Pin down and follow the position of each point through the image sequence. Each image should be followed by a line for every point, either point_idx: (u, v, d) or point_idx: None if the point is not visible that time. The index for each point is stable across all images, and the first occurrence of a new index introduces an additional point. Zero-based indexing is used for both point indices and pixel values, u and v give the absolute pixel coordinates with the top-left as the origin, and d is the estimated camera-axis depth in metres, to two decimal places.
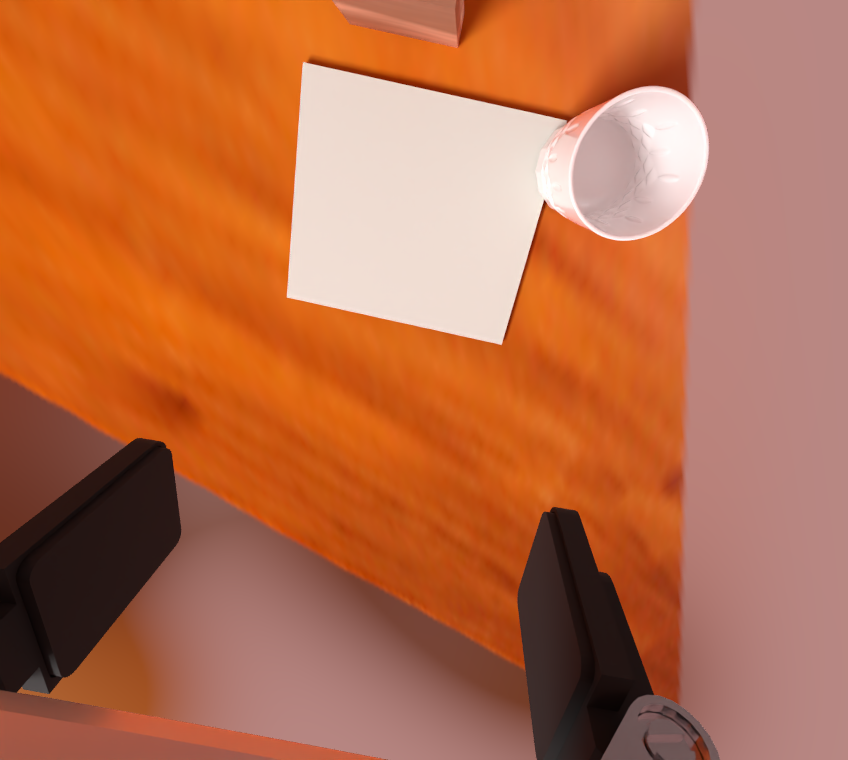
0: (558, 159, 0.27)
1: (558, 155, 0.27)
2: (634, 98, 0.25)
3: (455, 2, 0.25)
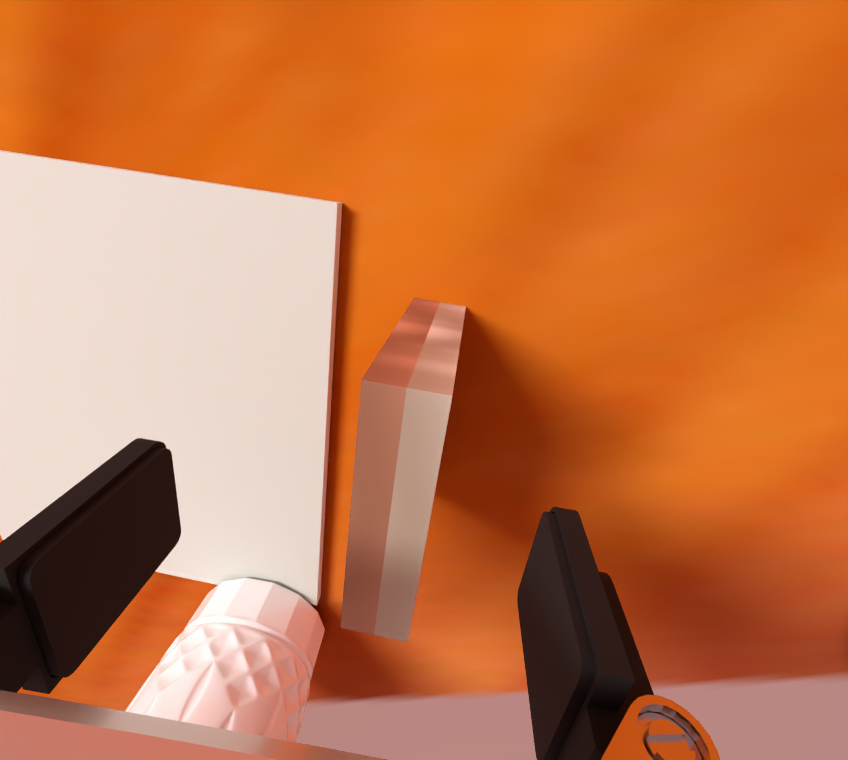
0: None
1: None
2: None
3: (350, 627, 0.13)
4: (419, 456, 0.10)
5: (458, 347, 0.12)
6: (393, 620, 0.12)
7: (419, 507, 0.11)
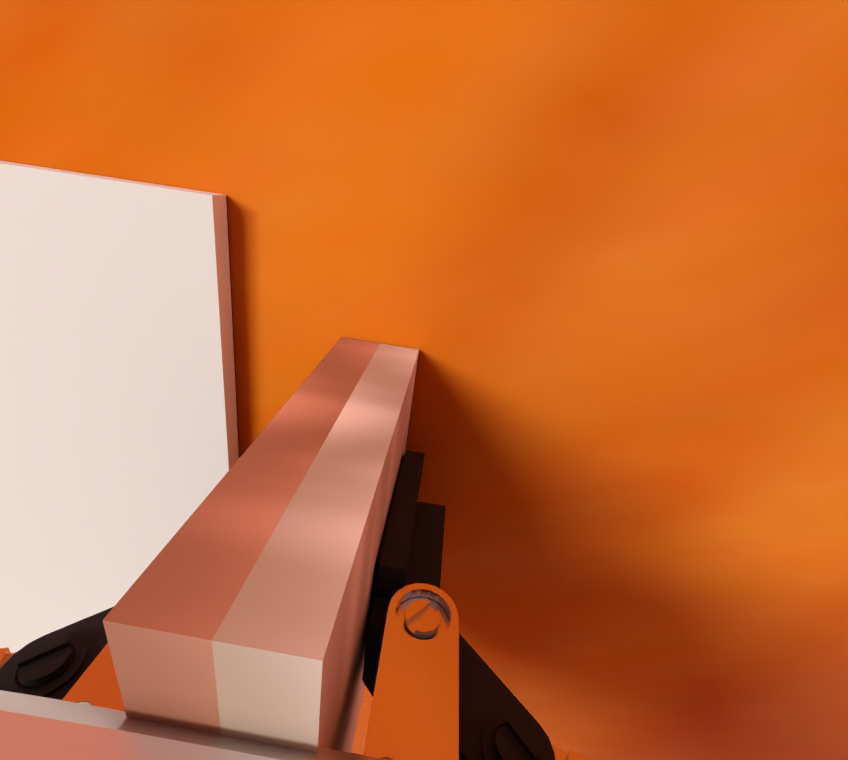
0: None
1: None
2: None
3: None
4: None
5: (383, 456, 0.07)
6: None
7: None
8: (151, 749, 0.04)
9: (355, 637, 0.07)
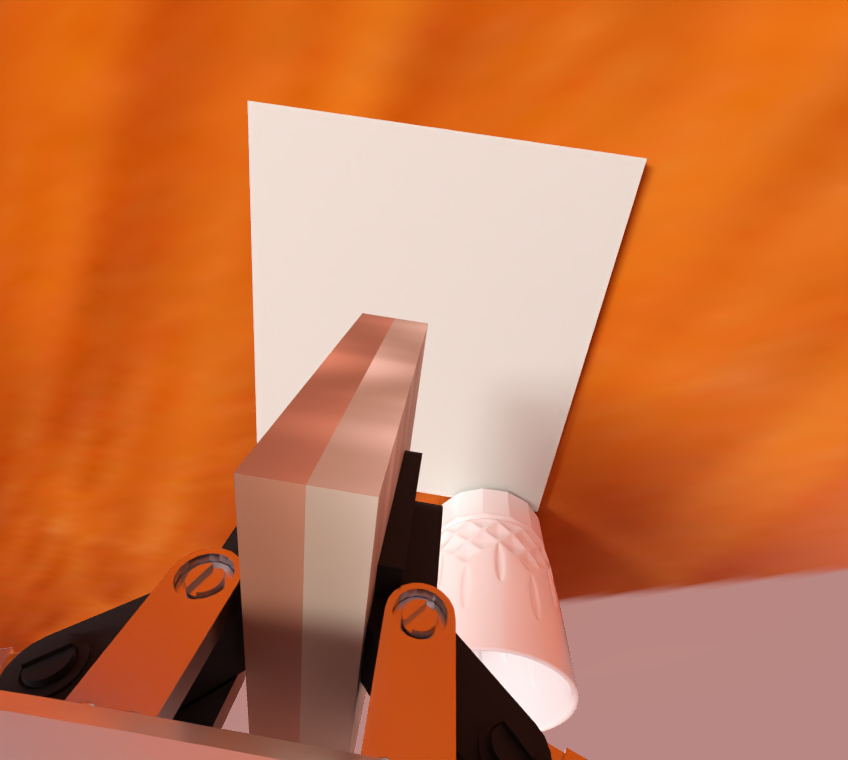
0: (499, 589, 0.21)
1: (503, 585, 0.21)
2: None
3: None
4: (335, 579, 0.07)
5: (406, 393, 0.09)
6: None
7: (342, 644, 0.07)
8: (151, 748, 0.04)
9: (385, 530, 0.09)
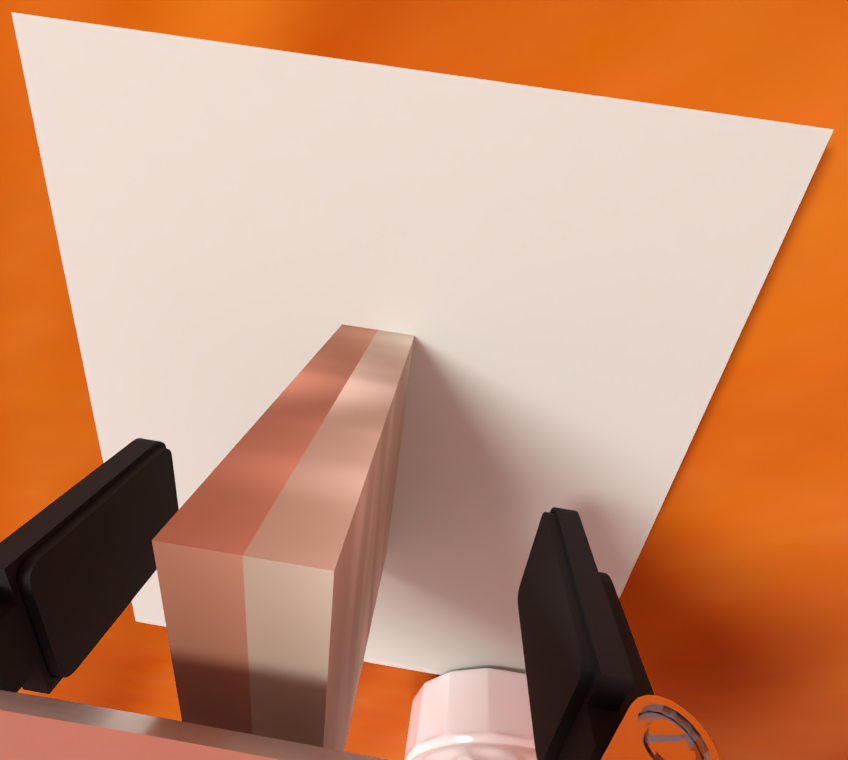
0: None
1: None
2: None
3: None
4: (287, 662, 0.05)
5: (382, 422, 0.08)
6: None
7: (300, 732, 0.06)
8: (151, 749, 0.04)
9: (358, 582, 0.07)
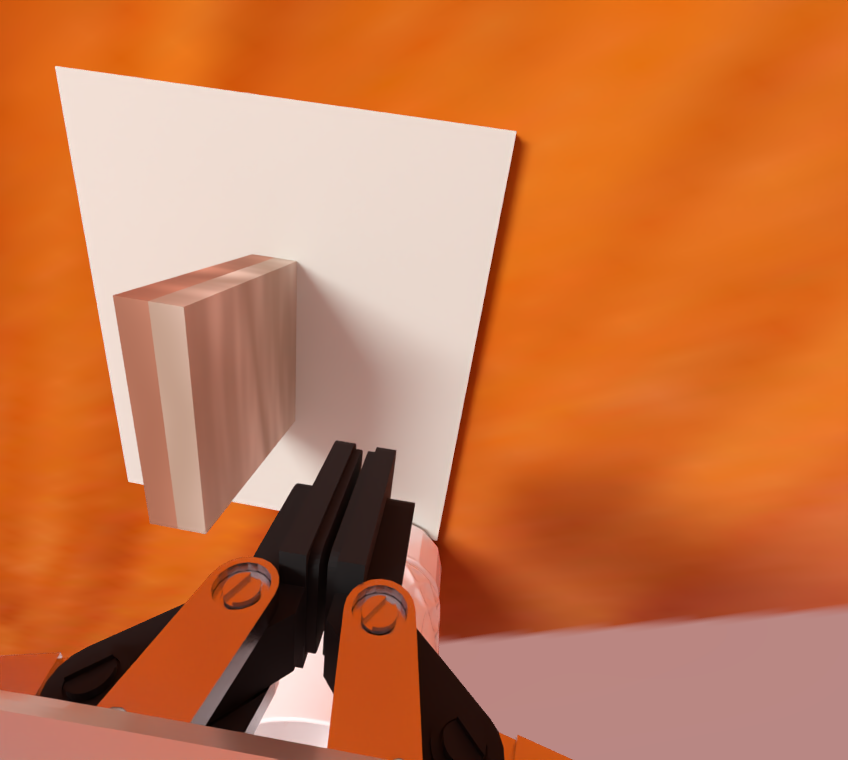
0: None
1: None
2: None
3: (159, 522, 0.15)
4: (172, 361, 0.12)
5: (241, 283, 0.15)
6: (189, 514, 0.15)
7: (183, 407, 0.13)
8: (151, 749, 0.04)
9: (226, 363, 0.14)
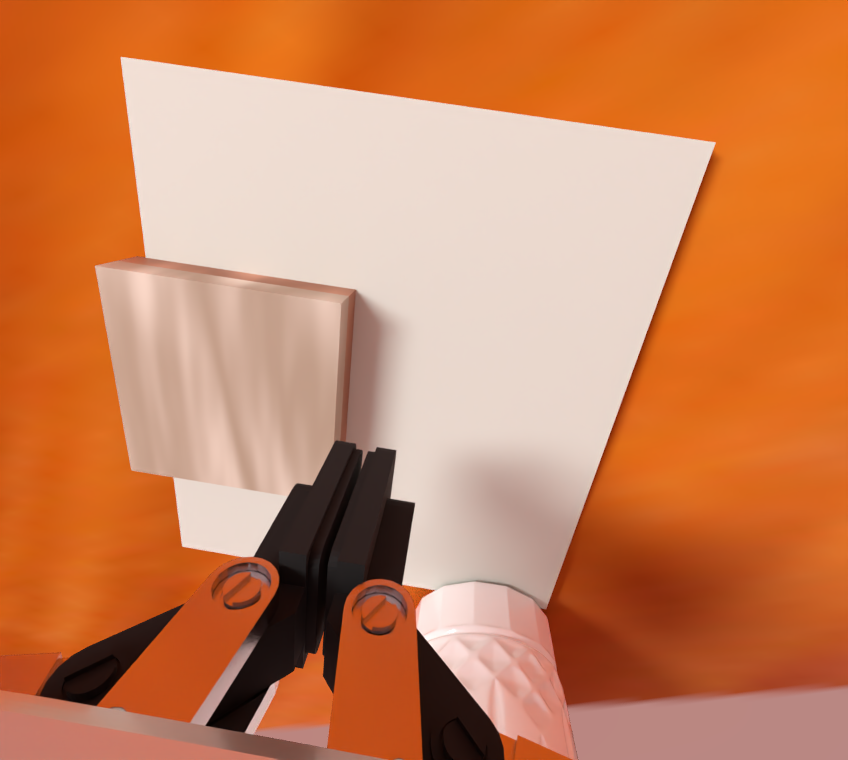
0: None
1: None
2: None
3: None
4: None
5: (192, 280, 0.14)
6: None
7: (117, 353, 0.16)
8: (151, 748, 0.04)
9: (162, 345, 0.15)
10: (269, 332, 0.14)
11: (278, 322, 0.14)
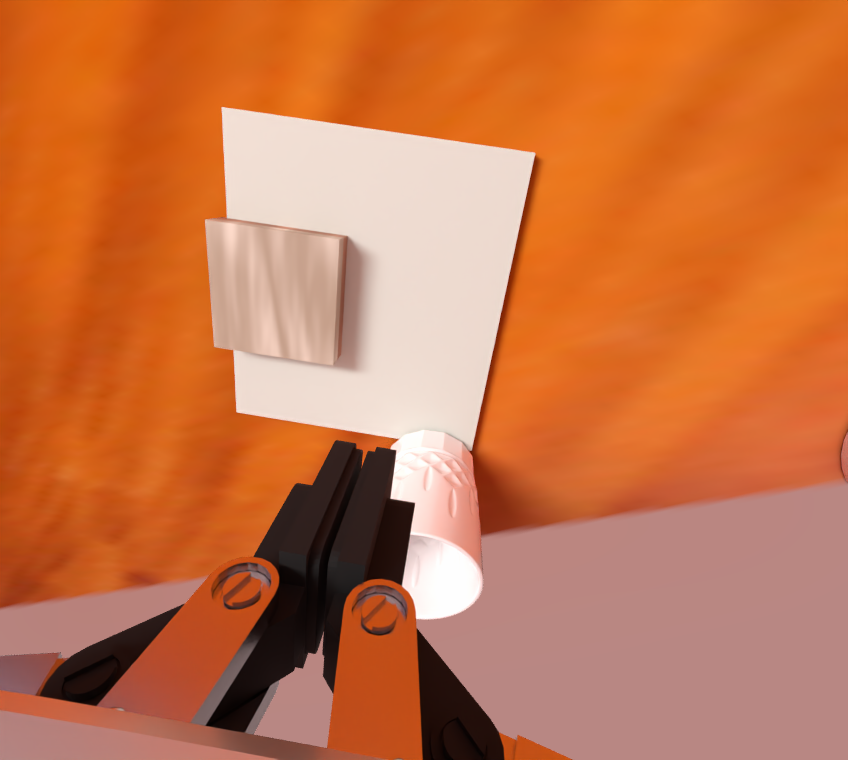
0: (423, 496, 0.26)
1: (427, 493, 0.26)
2: None
3: None
4: None
5: (258, 227, 0.26)
6: None
7: (211, 272, 0.27)
8: (151, 749, 0.04)
9: (239, 266, 0.27)
10: (299, 257, 0.26)
11: (304, 251, 0.26)
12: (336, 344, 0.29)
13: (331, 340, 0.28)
